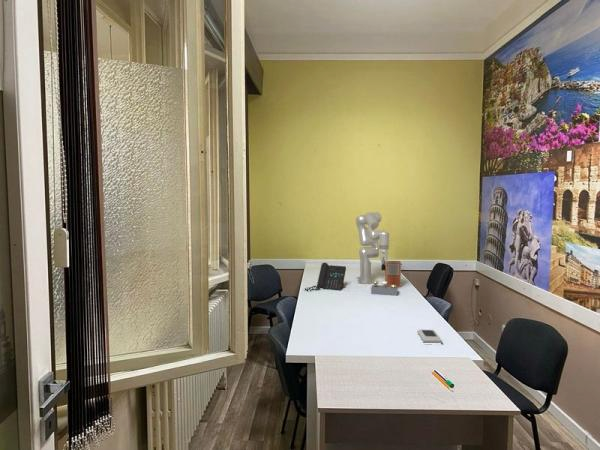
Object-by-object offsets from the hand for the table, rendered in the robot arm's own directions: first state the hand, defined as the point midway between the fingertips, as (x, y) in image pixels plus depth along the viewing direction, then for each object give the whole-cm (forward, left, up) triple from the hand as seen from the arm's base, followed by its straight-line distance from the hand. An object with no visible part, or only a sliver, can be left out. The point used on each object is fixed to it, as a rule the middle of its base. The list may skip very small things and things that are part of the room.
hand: (383, 270), depth 314 cm
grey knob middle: (+1, 0, -14) cm, 14 cm away
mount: (+1, 0, -19) cm, 19 cm away
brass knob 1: (-5, -3, -14) cm, 15 cm away
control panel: (-5, +25, -19) cm, 32 cm away
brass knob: (+7, +3, -16) cm, 18 cm away
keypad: (+68, -71, -19) cm, 100 cm away
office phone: (-45, -17, -19) cm, 52 cm away
